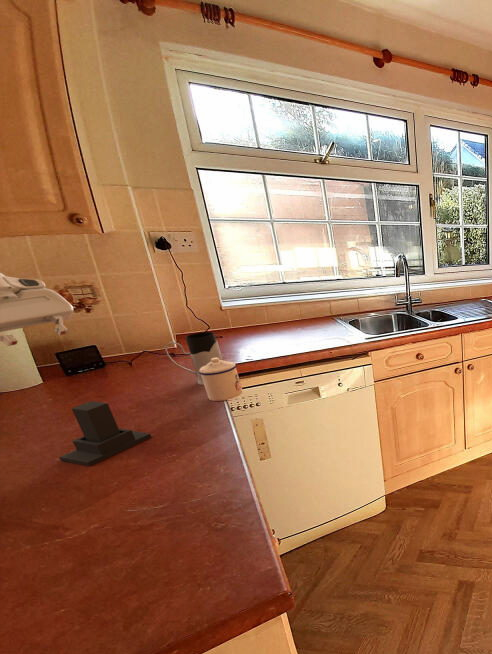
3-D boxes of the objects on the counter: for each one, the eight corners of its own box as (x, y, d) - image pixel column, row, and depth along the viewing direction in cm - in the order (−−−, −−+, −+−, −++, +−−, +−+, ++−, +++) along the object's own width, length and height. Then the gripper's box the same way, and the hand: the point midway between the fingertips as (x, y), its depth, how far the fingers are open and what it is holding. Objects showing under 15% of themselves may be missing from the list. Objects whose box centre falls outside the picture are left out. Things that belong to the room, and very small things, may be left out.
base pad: (89, 466, 91) (82, 452, 89) (60, 460, 93) (53, 447, 92) (151, 437, 102) (146, 424, 101) (124, 432, 105) (119, 420, 103)
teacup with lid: (246, 395, 125) (235, 358, 120) (210, 404, 119) (197, 366, 115) (239, 384, 133) (228, 349, 129) (204, 392, 128) (192, 355, 123)
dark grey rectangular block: (105, 450, 95) (87, 410, 91) (89, 447, 96) (71, 408, 92) (124, 441, 98) (107, 402, 95) (109, 439, 100) (92, 400, 96)
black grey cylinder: (227, 381, 136) (213, 336, 130) (173, 389, 130) (157, 343, 125) (231, 373, 143) (218, 330, 137) (181, 380, 138) (165, 335, 132)
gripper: (-75, 293, 87) (-21, 341, 88) (49, 278, 105) (92, 319, 107) (-76, 313, 90) (-24, 360, 91) (45, 296, 108) (86, 335, 109)
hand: (39, 337), depth 99 cm, fingers open, 8 cm apart
